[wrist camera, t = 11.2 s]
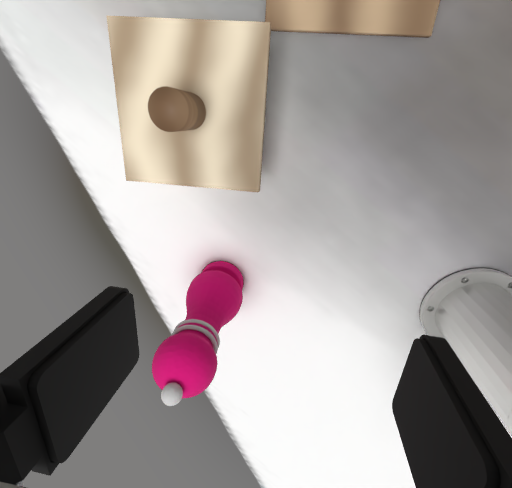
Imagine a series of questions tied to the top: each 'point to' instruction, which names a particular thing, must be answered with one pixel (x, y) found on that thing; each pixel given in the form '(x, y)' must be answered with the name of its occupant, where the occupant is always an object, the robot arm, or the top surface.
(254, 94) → the lid
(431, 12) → the mat
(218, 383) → the top surface
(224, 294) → the pepper mill
